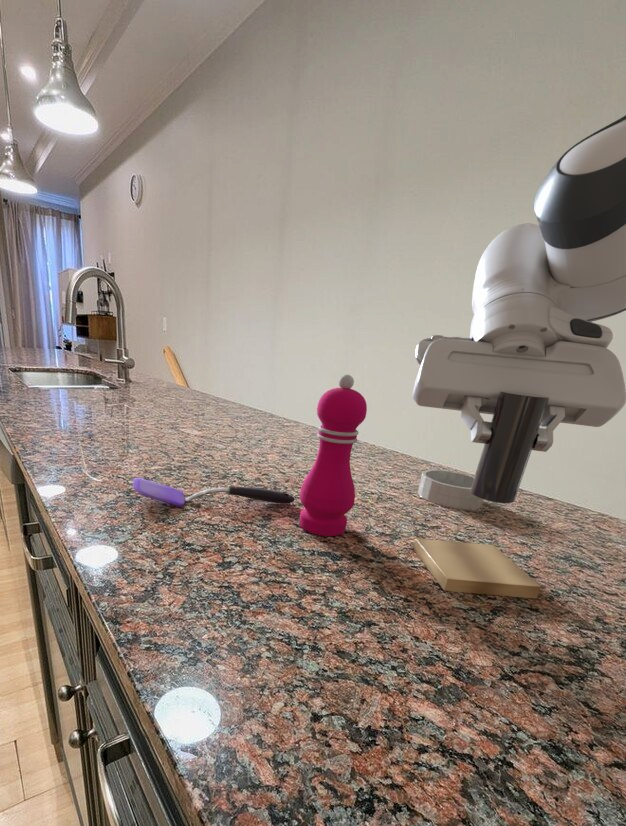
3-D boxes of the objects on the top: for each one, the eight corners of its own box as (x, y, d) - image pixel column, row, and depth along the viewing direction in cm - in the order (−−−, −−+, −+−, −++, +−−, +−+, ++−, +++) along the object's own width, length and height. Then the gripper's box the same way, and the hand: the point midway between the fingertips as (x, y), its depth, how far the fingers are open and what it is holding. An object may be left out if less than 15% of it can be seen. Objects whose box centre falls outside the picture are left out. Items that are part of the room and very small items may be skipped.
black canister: (501, 491, 51) (533, 393, 47) (522, 505, 47) (560, 398, 43) (463, 487, 51) (491, 389, 47) (481, 501, 47) (514, 394, 43)
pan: (464, 493, 81) (470, 472, 79) (492, 515, 71) (500, 491, 70) (408, 488, 81) (413, 467, 79) (429, 509, 71) (435, 485, 70)
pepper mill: (310, 512, 65) (332, 370, 58) (356, 527, 62) (387, 377, 54) (285, 526, 60) (306, 371, 52) (334, 543, 56) (365, 379, 49)
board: (490, 555, 57) (494, 544, 56) (536, 599, 48) (541, 586, 47) (412, 548, 57) (415, 538, 56) (444, 590, 48) (447, 578, 47)
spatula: (288, 496, 71) (290, 481, 70) (299, 512, 65) (301, 496, 64) (134, 491, 67) (134, 475, 66) (130, 508, 61) (130, 491, 60)
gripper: (424, 313, 50) (413, 412, 45) (629, 329, 46) (643, 440, 41) (411, 354, 56) (400, 446, 51) (593, 371, 52) (601, 473, 47)
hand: (511, 444), depth 46 cm, fingers closed on black canister, 4 cm apart
